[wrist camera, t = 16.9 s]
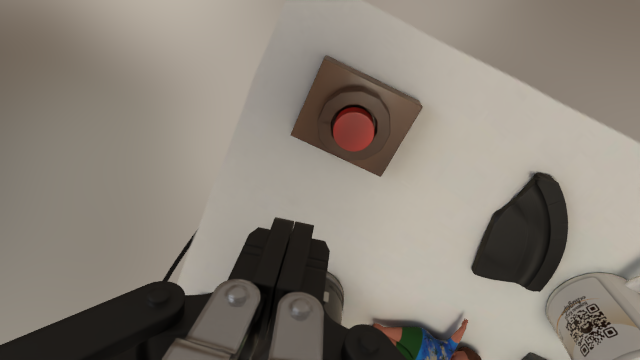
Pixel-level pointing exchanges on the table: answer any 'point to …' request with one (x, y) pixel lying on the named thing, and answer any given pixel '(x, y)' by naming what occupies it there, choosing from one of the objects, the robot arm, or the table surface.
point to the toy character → (428, 344)
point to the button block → (364, 92)
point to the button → (353, 129)
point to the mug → (597, 317)
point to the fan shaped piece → (526, 236)
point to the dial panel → (532, 357)
